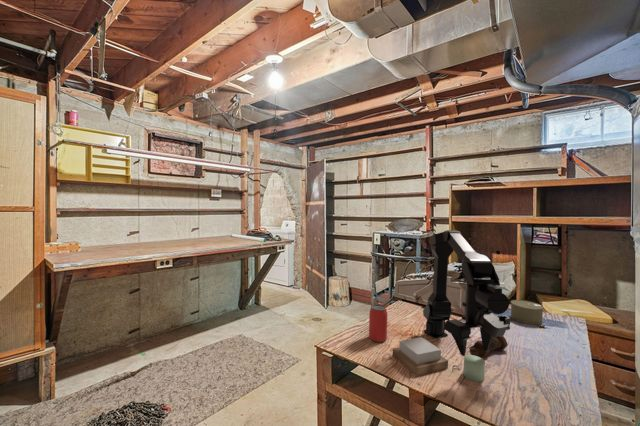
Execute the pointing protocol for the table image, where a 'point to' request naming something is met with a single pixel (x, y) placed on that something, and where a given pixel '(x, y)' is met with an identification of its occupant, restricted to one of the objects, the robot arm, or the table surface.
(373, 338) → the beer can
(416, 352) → the grey top slab
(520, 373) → the table surface
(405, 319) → the table surface
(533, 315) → the can
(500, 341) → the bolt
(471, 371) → the green cylinder
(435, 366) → the walnut base slab
